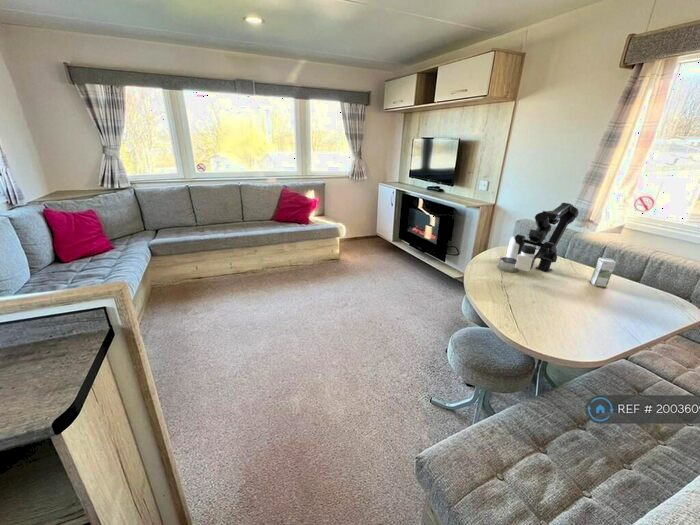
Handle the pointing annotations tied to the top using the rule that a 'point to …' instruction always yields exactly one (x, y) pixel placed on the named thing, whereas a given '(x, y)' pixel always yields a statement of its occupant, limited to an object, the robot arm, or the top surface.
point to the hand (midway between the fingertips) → (525, 256)
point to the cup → (513, 249)
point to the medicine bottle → (526, 258)
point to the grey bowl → (507, 264)
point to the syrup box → (602, 272)
